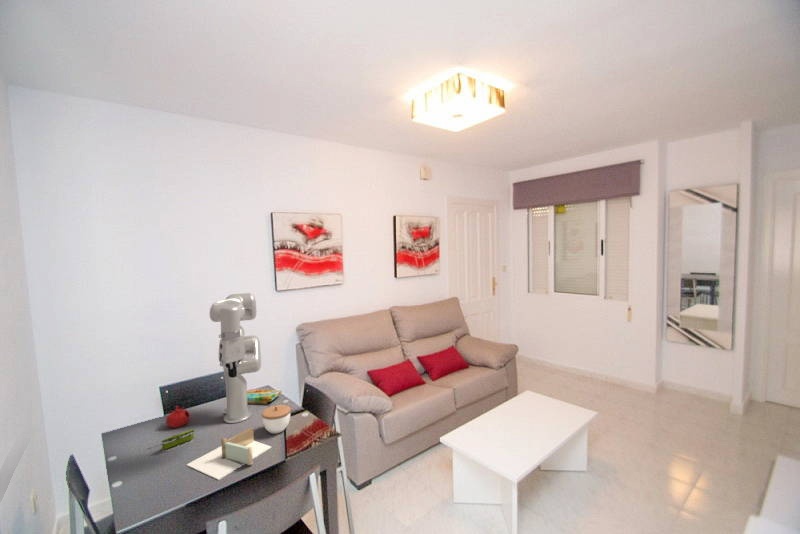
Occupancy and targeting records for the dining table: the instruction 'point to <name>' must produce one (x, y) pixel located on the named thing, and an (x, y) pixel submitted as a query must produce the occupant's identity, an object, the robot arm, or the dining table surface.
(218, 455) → the card
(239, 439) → the base
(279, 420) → the lidded bowl
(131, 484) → the dining table surface
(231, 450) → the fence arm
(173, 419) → the red teapot
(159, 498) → the dining table surface
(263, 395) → the puzzle game
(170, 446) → the green slotted rack
